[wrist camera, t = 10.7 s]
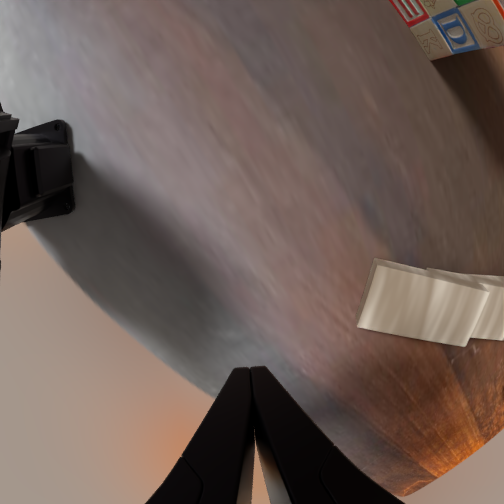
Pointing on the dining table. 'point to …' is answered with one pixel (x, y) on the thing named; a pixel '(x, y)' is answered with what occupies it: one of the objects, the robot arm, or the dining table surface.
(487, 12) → the stack of blocks
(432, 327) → the domino
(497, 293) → the domino
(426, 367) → the dining table surface
